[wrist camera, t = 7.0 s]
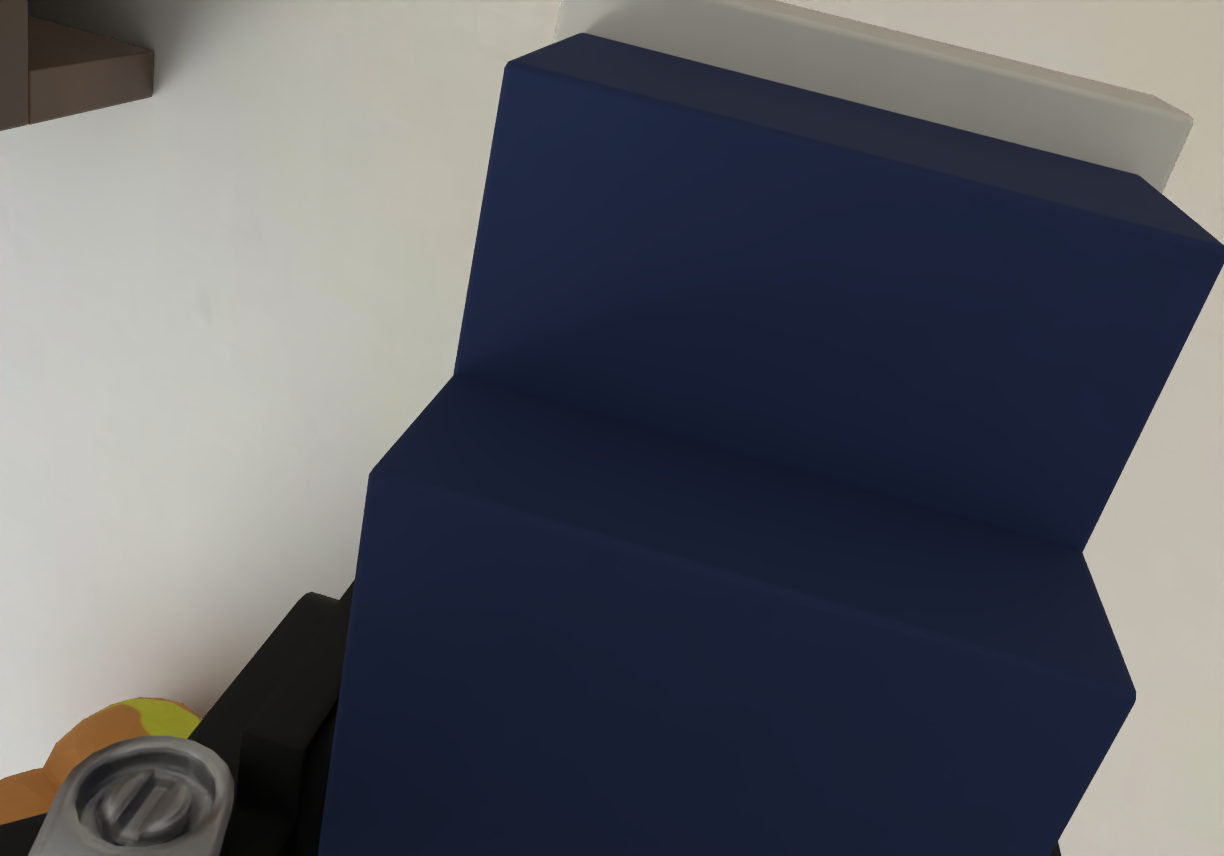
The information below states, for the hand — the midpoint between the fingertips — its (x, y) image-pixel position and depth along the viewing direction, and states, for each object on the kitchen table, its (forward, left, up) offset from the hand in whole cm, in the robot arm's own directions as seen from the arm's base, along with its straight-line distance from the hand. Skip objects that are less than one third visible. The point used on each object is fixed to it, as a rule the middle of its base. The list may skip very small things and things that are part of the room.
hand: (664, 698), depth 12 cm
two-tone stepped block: (-1, 0, -1) cm, 1 cm away
